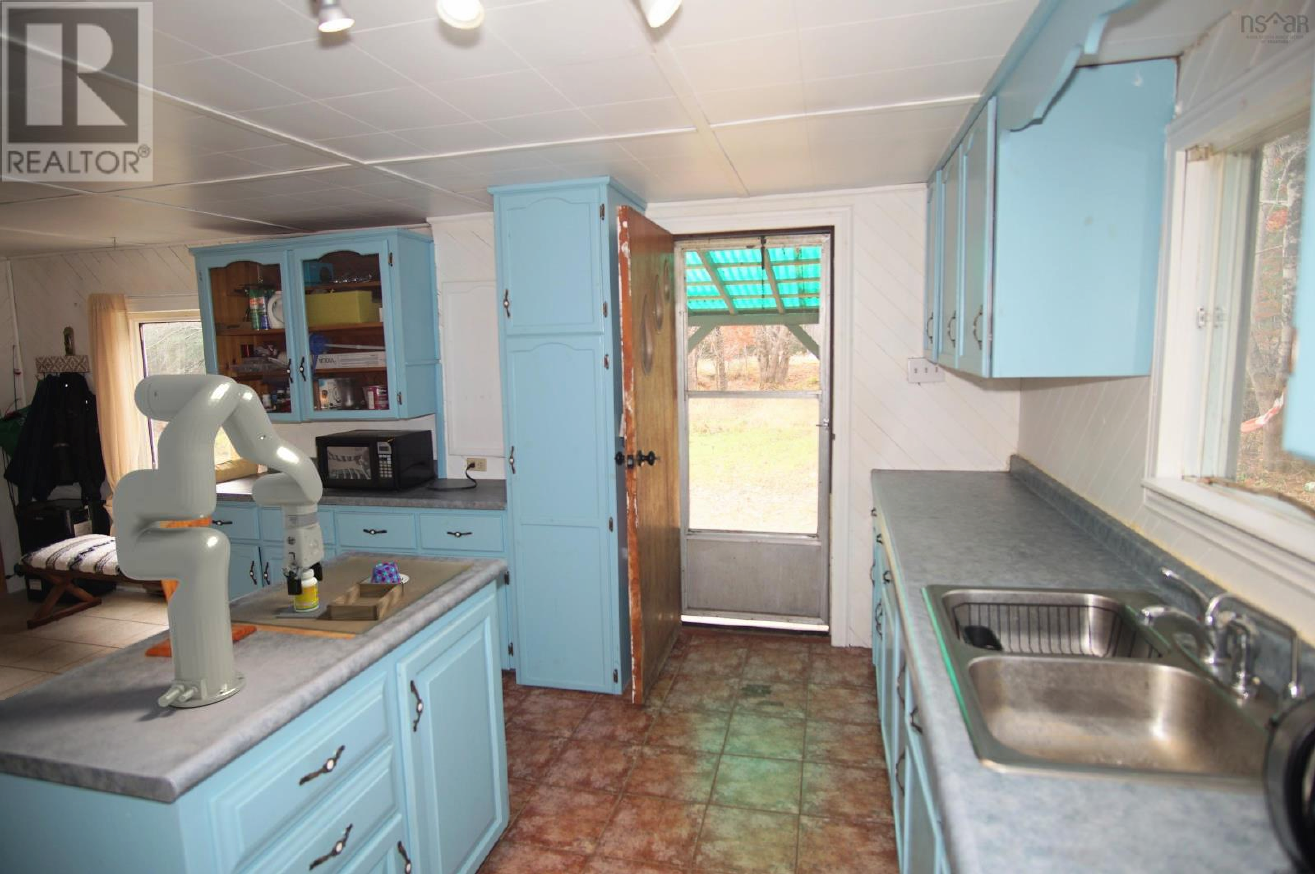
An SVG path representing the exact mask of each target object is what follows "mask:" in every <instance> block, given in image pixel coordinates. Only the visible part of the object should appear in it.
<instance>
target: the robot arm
mask: <svg viewBox="0 0 1315 874" xmlns="http://www.w3.org/2000/svg"><path fill="white" fill-rule="evenodd" d="M133 392H134V393H133V398H134V399H133V400H134V403H135V405H136V408H137V409H138V411H139V412H140V413H141V414H142V415H143V416H145V417H146V418H148V419H150V420H153V421H160V422H165V423H167V424H166V425H165V426H164V428H163V430H162V431H161V433H160V435H159V437H158V440H157V445H156V447H157V468H146V469H145V468H143V469H135V470H132V471H129V472H128V473H125V474H124V475H123V476H122V477H121V478H120V479H119V480H118V482H117V483H116V486H115V487H114V491H113V495H112V501H111V503H112V504H111V506H112V510H111V511H112V520H113V530H114V532H113V533H114V543H115V551H116V552H115V553H116V560H117V564H118V567H119V569H120V571H121V573H122V574H123V575H124V576H126V577H127V578H129V579H132V580H136V581H175V582H176V581H177V583H178V584H177V587H175V590H174V591H173V593H172V594H171V596H170V598H169V599H168V602H167V608H166V609H167V620H168V628H169V637H170V638H169V640H170V649H171V656H172V657H171V658H172V659H171V660H172V669H173V678H174V679H172V680H171V687H170V688H169V689H168V690H167V691H166V693H165V694H163V695H161V696H160V697H159V698H158V699H157V703H158V705H159V707H162V708H166V707H168V706H169V705H170V706H173V707H176V708H194V707H195V708H196V707H200V706H206V705H209V704H214V703H217V702H219V701H222V700H225V699H228V698H230V697H231V696H234V695H235V694H236V693H238V692H239V691H240V690H242V689H243V688H244V686H245V684H246V676H245V674H244V673H243V672H241V671H239V670H236V668H235V656H234V655H235V654H234V646H233V645H234V643H233V634H232V632H233V631H232V623H231V611H230V601H229V599H230V598H229V585H228V584H229V583H228V580H229V578H228V577H229V566H230V559H231V543H230V540H229V538H228V536H227V535H226V534H225V533H224V532H222V531H220V530H218V529H216V528H212V527H205V526H179V527H177V526H176V527H160V522H189V521H199V520H203V519H206V518H208V517H209V516H211V515H212V514H213V513H214V512H215V510H216V507H217V498H218V497H217V480H216V479H217V478H216V465H215V442H216V437H217V435H218V432H219V431H220V428H222V430H223V431H224V433H225V434H226V436H227V438H228V441H230V443H231V446H232V447H233V450H235V453H236V454H237V455H238V456H239V457H240V458H242V459H243V460H246V461H248V462H251V463H253V464H256V465H258V466H259V465H260V466H261V467H262V466H263V467H265V468H270V469H273V470H276V471H278V473H270V474H269V473H268V474H264V475H262V476H260V477H258V478H257V479H256V480H255V482H254V483H253V485H252V488H251V497H252V499H253V501H254V502H255V503H256V504H257V505H259V506H262V507H265V508H266V507H267V508H281V507H282V509H281V511H282V520H283V521H282V523H283V528H284V535H283V539H284V540H283V550H284V553H283V554H284V561H283V562H282V564H281V566H280V568H281V571H282V572H283V576H284V577H285V580H286V586H287V587H286V589H287V595H288V596H294V595H301V594H302V582H301V578H299V577H300V573H301V570H303V569H312V570H313V571H314V576H313V577H314V578H316V579H317V582H322V581H323V580H324V578H323V562H324V561H323V559H324V556H325V545H324V540H323V534H322V529H321V526H320V521H319V513H318V511H319V510H318V502H319V501H320V500H321V498H322V496H323V482H322V480H321V477H320V474H319V472H318V470H317V468H316V465H315V464H314V461H313V460H312V459H311V458H310V456H308V455H307V454H306V453H305V452H303V451H302V450H301V449H300V448H298V447H296V446H295V445H294V444H292V443H291V442H289V441H287V440H285V439H284V438H282V437H280V436H279V435H278V434H277V431H276V430H275V427H274V426H273V424H272V422H271V419H270V418H269V415H268V413H267V411H266V409H265V407H264V405H263V403H262V401H261V399H260V397H259V395H258V394H257V392H256V391H255V390H254V388H252V387H251V386H249V385H246V384H242V383H238V382H237V381H236V380H235V379H233V378H232V377H230V376H226V375H222V374H211V373H192V374H191V373H187V374H181V373H180V374H175V373H174V374H153V375H148V376H146V377H144V378H143V379H141V380H140V381H139V382H137V385H136V386H135V389H134V391H133ZM294 571H295V572H296V573H295V572H294Z"/></svg>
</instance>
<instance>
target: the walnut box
mask: <svg viewBox="0 0 1315 874" xmlns="http://www.w3.org/2000/svg"><path fill="white" fill-rule="evenodd" d="M404 589H405V588H404V583H401V582H400V583H363V582H356V583H355V584H353V585H352V586H351V587H350V588H348V589H347V590H346V591H344V592H343V593H342V594H340V595H339V596H337V597H336V598H335V599H334V600H332V601H333V602H331V603H330V604H329V605H327V611H326V614H327V621H379V620H380V619H381V618H382V617H383V616H384V615H385V614H386V613H387V612H388V611H389V610H391V609H392V608H393V607H394V606H395V605H396V604H397V603H398V602H399V601H400V600H401V599H402V598H403V597H404V596H405V590H404ZM402 596H403V597H402ZM360 598H380V599H379V600H378V601H377V602H375V603H374V604H363V603H362V604H356V603H355V602H356V601H357V600H359V599H360ZM398 600H399V601H398ZM397 601H398V602H397ZM396 602H397V603H396ZM354 603H355V604H354ZM393 605H394V606H393ZM392 606H393V607H392ZM383 614H384V615H383ZM382 615H383V616H382ZM378 619H379V620H378Z"/></svg>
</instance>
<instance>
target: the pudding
mask: <svg viewBox="0 0 1315 874" xmlns="http://www.w3.org/2000/svg"><path fill="white" fill-rule="evenodd" d="M402 578H403V580H402ZM409 580H410V577H409V575H406V574H403V573H400V571H399V568H398V566H397V564H396V563H395V562H390V561H389V562H380V563H379V564H375V565H374V567H373V568H372V573H371V577H368V578H367V579H364V580H363V581H362V583H399V582H400V583H401V582H403V584H405V583H407V582H408V581H409Z"/></svg>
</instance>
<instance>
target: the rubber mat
mask: <svg viewBox="0 0 1315 874" xmlns="http://www.w3.org/2000/svg"><path fill="white" fill-rule="evenodd" d="M333 601H334V600H319V607H318V608H317V609H316V610H314V611H310V612H305V613H301V612H296V611H295V608H294V603H293V604H292V605H291V606H289V607H288V608H286V609H285V610H283V611H282V612H280V613H279V614H277V615H276V616H275V618H276V619H318V618H320V617H321V616H323V614H325V613H327V605H329V604H330V603H331V602H333Z"/></svg>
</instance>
